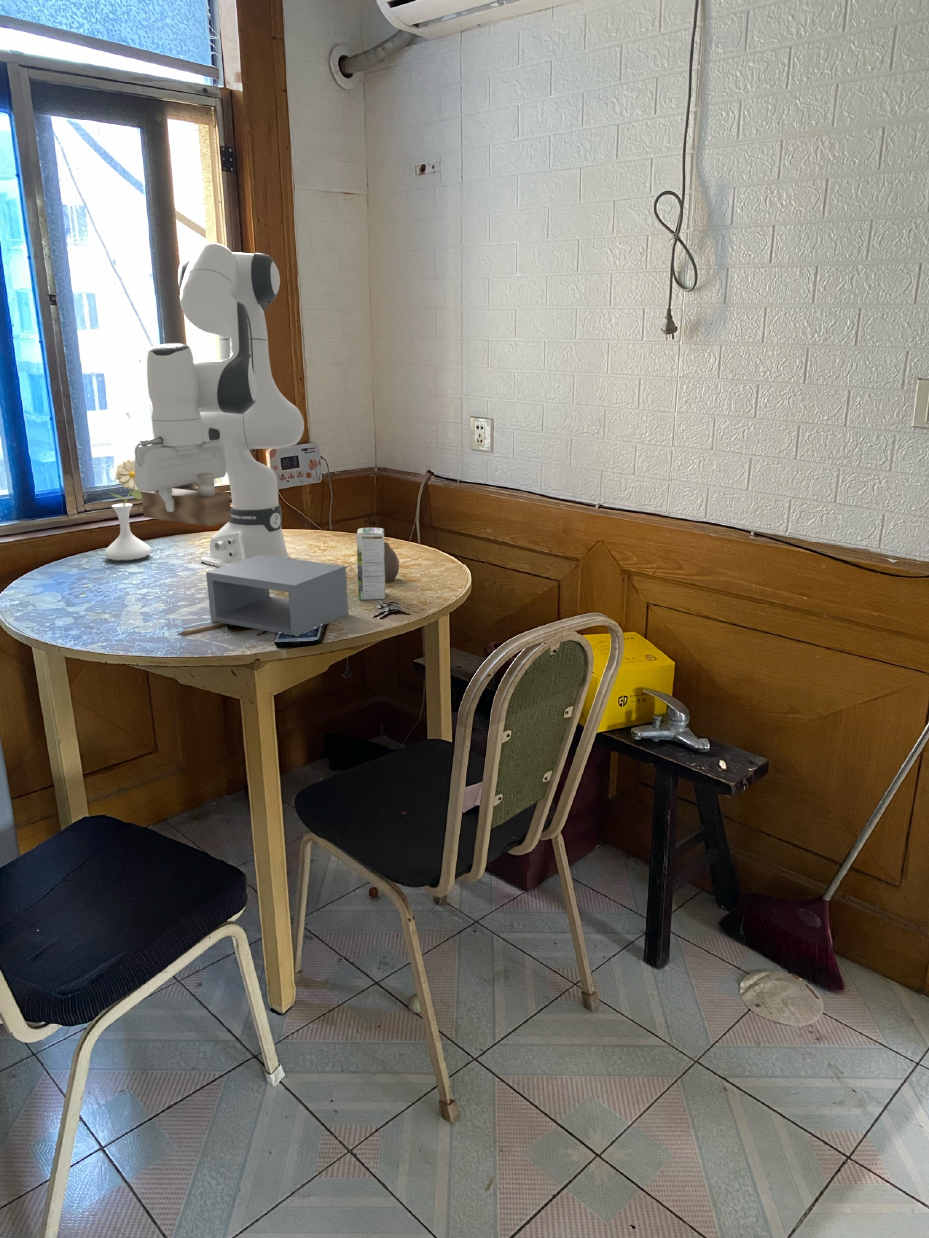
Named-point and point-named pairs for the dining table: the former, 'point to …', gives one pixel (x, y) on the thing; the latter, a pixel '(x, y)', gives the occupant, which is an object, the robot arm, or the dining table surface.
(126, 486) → the flower in vase
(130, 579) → the dining table surface
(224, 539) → the robot arm
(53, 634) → the dining table surface
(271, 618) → the slate shelf
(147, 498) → the twin candle holder
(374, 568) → the syrup box
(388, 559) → the vase
